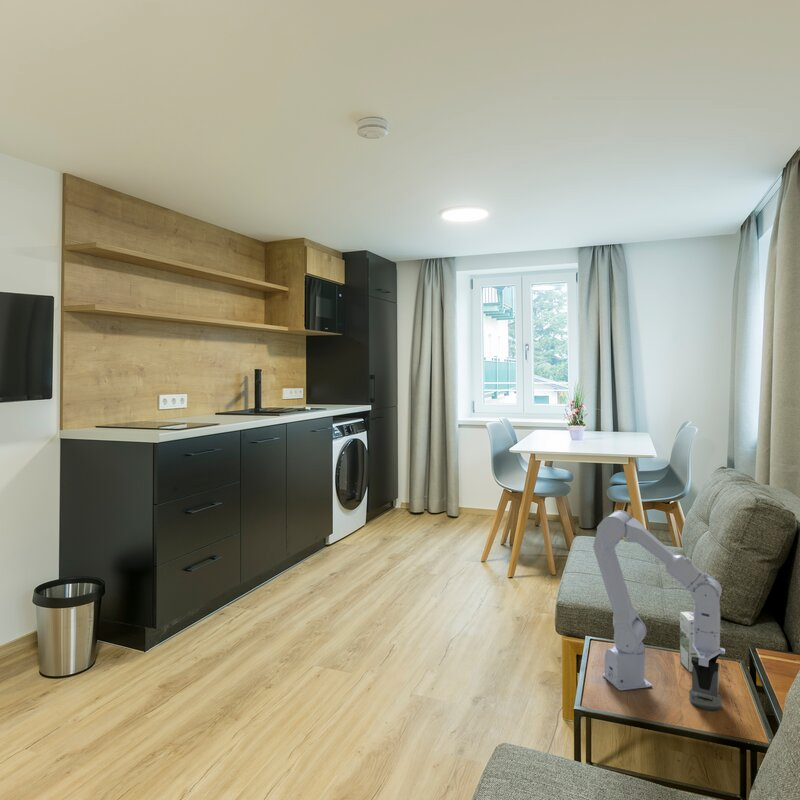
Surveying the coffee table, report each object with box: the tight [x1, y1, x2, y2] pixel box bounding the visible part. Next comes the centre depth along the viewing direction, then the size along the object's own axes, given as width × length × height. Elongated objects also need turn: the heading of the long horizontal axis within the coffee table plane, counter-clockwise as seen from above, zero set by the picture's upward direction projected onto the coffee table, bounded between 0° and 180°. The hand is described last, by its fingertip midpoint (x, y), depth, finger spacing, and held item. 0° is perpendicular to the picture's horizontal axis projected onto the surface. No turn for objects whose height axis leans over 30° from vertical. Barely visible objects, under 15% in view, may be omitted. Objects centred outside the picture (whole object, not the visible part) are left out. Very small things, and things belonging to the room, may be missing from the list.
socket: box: [691, 661, 720, 697], centre depth 141 cm, size 5×5×6 cm
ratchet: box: [688, 688, 723, 712], centre depth 144 cm, size 14×7×5 cm, turn 147°
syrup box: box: [679, 611, 698, 673], centre depth 158 cm, size 6×6×14 cm
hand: (705, 683), depth 141 cm, fingers closed on socket, 5 cm apart
